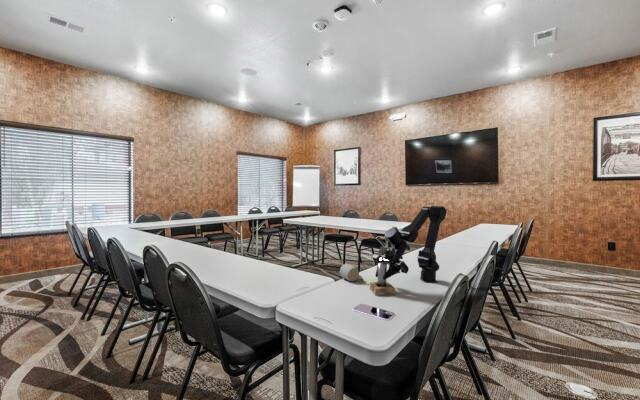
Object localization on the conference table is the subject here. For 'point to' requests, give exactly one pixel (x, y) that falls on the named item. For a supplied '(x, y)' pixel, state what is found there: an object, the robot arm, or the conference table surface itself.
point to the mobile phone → (374, 312)
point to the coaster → (369, 280)
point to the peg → (382, 274)
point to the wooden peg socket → (382, 289)
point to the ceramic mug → (349, 272)
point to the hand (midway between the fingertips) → (379, 277)
